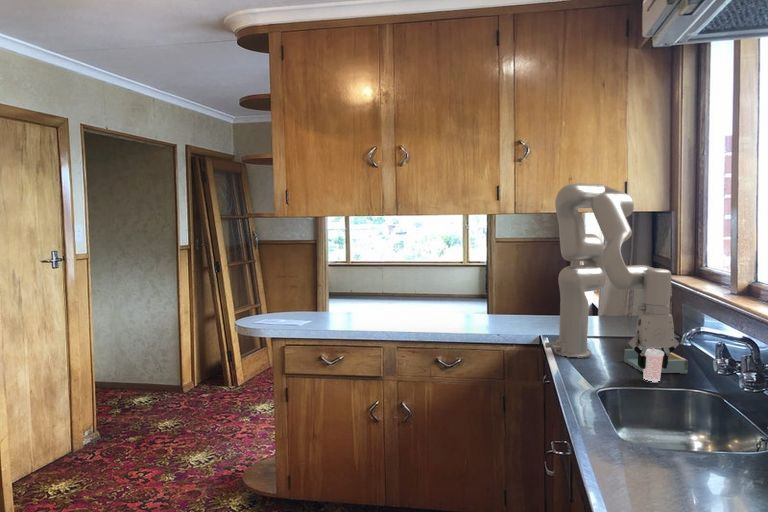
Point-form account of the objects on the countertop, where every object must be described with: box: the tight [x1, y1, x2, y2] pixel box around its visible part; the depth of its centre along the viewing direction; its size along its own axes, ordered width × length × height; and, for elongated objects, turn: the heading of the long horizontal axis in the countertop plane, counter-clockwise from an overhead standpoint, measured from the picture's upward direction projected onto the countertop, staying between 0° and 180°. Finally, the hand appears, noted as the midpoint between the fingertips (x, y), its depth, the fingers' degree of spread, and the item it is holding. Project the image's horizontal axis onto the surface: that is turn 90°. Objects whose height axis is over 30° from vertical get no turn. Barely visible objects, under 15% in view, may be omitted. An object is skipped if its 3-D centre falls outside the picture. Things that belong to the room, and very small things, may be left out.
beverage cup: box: [642, 348, 664, 383], centre depth 179 cm, size 6×6×14 cm
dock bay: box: [623, 348, 689, 374], centre depth 193 cm, size 14×14×4 cm
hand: (652, 366), depth 179 cm, fingers closed on beverage cup, 6 cm apart
